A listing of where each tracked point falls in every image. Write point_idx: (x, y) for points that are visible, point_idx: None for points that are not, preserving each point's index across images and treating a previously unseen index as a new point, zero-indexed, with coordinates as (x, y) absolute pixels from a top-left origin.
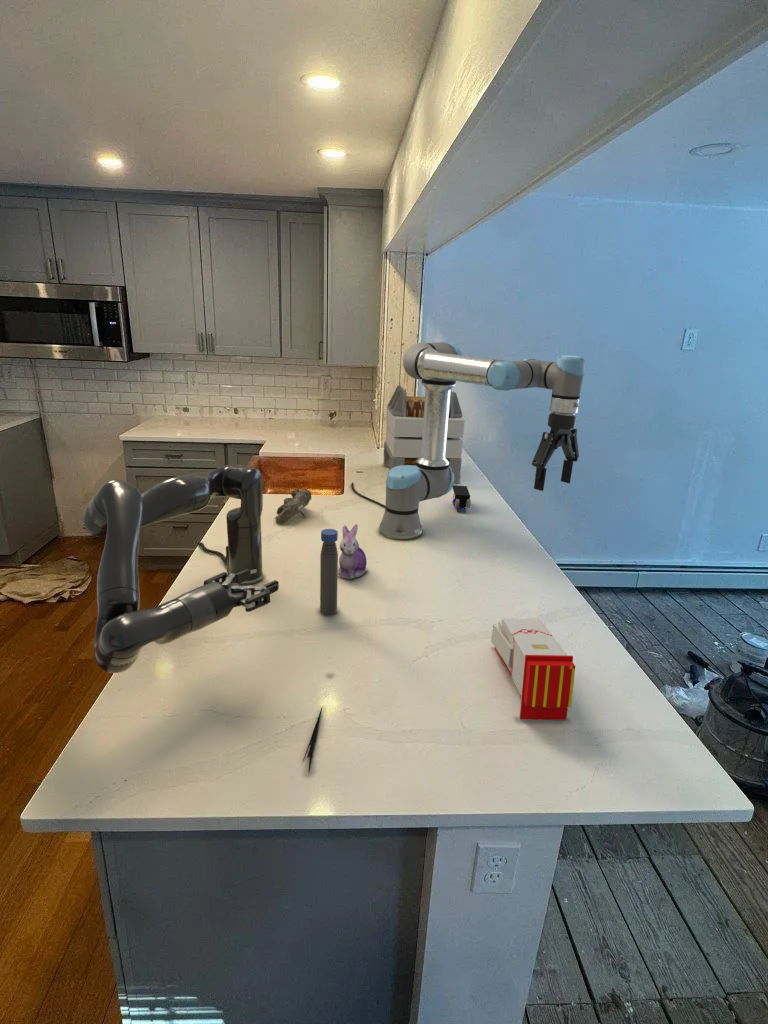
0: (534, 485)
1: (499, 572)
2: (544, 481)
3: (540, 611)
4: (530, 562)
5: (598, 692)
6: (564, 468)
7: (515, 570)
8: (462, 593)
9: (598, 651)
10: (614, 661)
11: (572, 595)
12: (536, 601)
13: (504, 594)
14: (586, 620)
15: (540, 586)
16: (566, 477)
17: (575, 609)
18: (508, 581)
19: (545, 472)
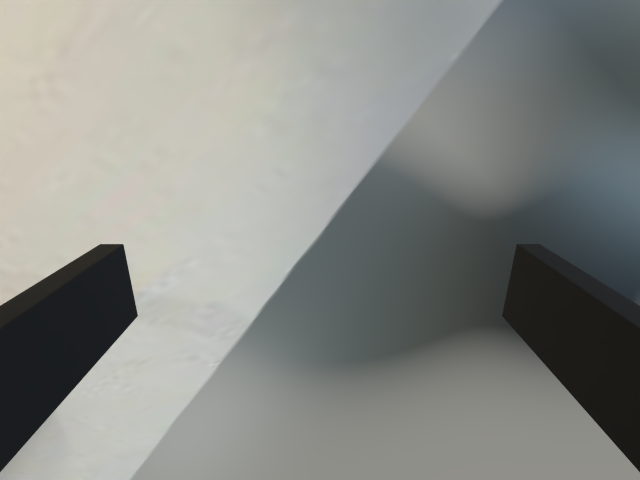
0: (82, 258)
1: (218, 89)
2: (89, 367)
3: (152, 284)
4: (359, 102)
5: (52, 453)
6: (603, 335)
7: (272, 111)
8: (30, 115)
9: (140, 410)
10: (140, 435)
11: (279, 285)
12: (180, 254)
13: (133, 187)
14: (210, 354)
15: (251, 215)
16: (532, 316)
17: (229, 321)
18: (198, 145)
19: (6, 452)
